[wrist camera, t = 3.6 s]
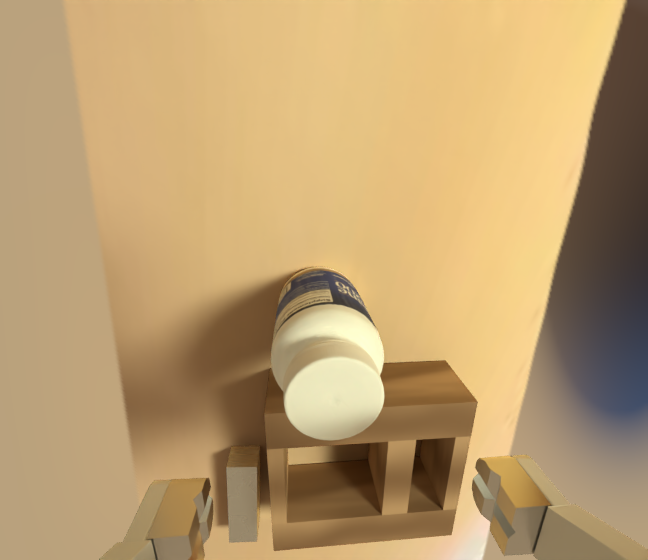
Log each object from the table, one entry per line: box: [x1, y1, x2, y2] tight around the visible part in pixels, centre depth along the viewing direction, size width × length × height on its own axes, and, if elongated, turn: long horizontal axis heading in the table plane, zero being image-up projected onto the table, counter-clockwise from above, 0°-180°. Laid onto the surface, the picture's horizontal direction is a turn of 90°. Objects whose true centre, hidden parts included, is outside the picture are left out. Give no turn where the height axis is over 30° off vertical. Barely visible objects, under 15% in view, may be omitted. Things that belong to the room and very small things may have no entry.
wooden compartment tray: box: [264, 361, 478, 551], centre depth 23 cm, size 12×13×4 cm
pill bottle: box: [271, 267, 384, 440], centre depth 17 cm, size 5×5×10 cm
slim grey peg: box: [226, 446, 260, 542], centre depth 26 cm, size 8×2×2 cm, turn 176°
